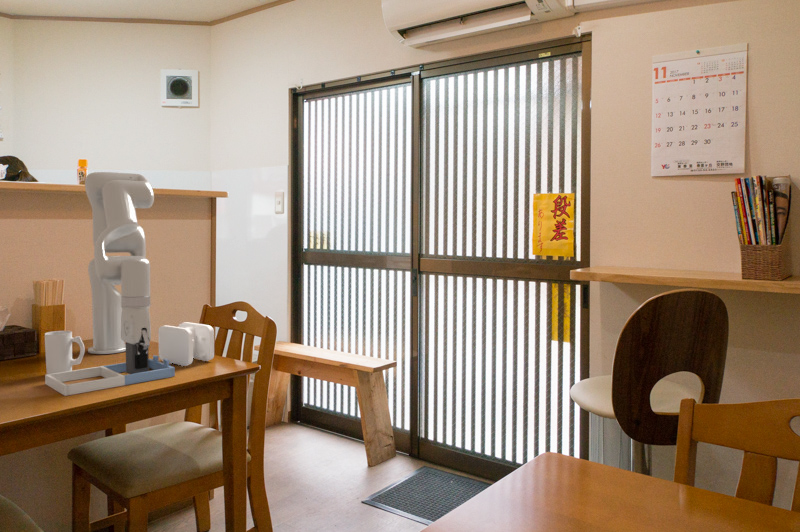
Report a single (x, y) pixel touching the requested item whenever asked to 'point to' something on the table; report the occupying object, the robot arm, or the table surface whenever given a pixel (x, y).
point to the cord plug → (133, 359)
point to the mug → (61, 351)
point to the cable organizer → (186, 343)
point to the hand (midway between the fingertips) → (137, 365)
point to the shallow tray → (107, 377)
